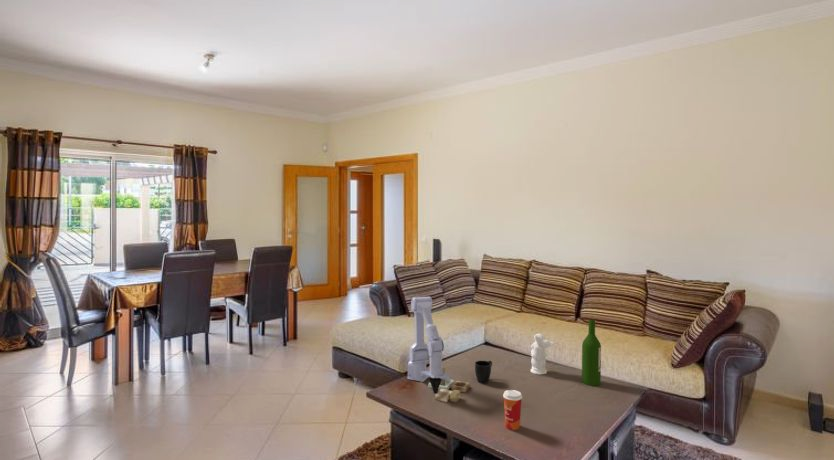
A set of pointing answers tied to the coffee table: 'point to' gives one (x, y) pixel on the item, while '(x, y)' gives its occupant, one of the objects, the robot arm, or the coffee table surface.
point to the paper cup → (512, 409)
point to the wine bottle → (591, 357)
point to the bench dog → (455, 395)
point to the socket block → (460, 386)
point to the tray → (446, 386)
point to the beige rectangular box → (443, 395)
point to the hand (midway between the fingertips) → (435, 392)
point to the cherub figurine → (539, 354)
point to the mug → (483, 371)
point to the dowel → (443, 379)
